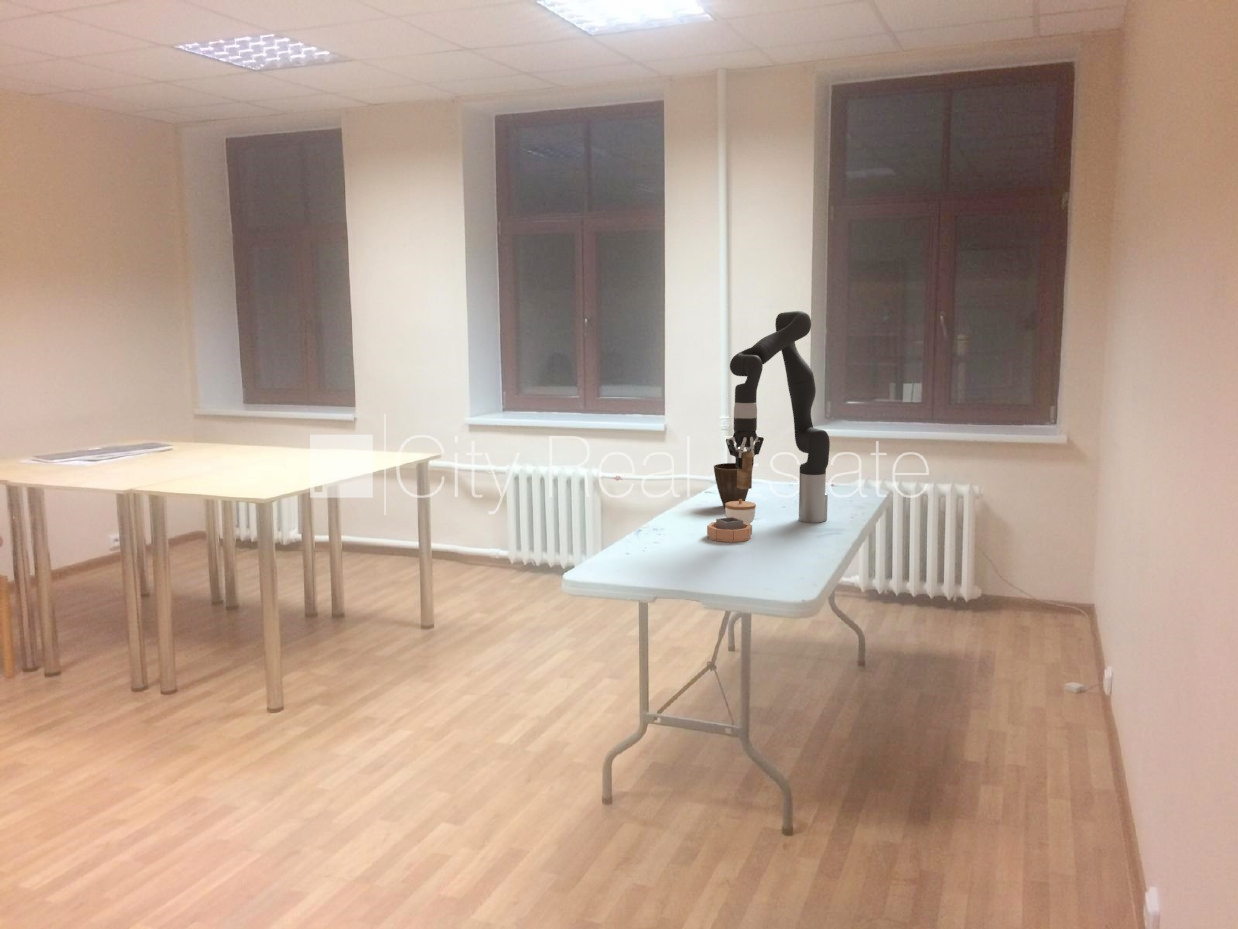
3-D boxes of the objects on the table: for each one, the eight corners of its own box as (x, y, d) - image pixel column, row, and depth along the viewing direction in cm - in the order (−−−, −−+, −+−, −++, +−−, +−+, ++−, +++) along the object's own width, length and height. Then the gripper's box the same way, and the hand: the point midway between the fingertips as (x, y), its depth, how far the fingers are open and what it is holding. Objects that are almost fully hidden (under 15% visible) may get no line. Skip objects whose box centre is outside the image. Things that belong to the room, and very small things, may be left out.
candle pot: (736, 531, 333) (736, 513, 332) (758, 539, 320) (759, 521, 319) (700, 535, 327) (700, 517, 326) (722, 544, 314) (722, 526, 314)
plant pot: (733, 512, 363) (733, 470, 361) (705, 506, 375) (705, 465, 372) (760, 507, 373) (761, 466, 370) (732, 501, 384) (732, 461, 382)
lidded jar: (754, 529, 335) (754, 502, 334) (723, 528, 338) (723, 501, 336) (756, 522, 346) (756, 496, 344) (726, 521, 348) (726, 496, 346)
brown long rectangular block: (745, 486, 322) (746, 451, 320) (751, 488, 319) (752, 452, 317) (736, 487, 321) (737, 451, 319) (742, 489, 318) (743, 453, 316)
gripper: (757, 414, 323) (755, 465, 325) (720, 416, 317) (719, 468, 319) (769, 416, 316) (768, 468, 319) (733, 418, 310) (732, 471, 313)
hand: (744, 468), depth 319 cm, fingers closed on brown long rectangular block, 3 cm apart
